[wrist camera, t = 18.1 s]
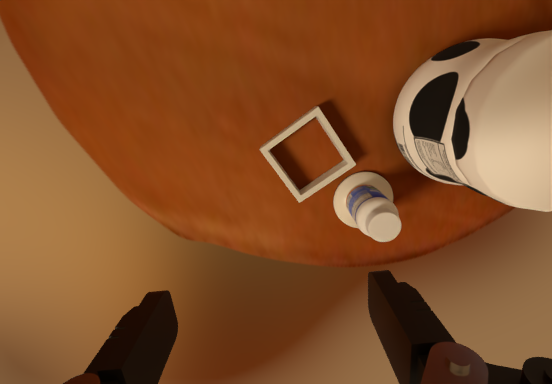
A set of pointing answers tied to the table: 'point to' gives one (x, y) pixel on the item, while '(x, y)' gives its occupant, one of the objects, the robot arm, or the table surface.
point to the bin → (324, 178)
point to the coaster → (352, 182)
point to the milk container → (483, 119)
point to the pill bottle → (373, 212)
